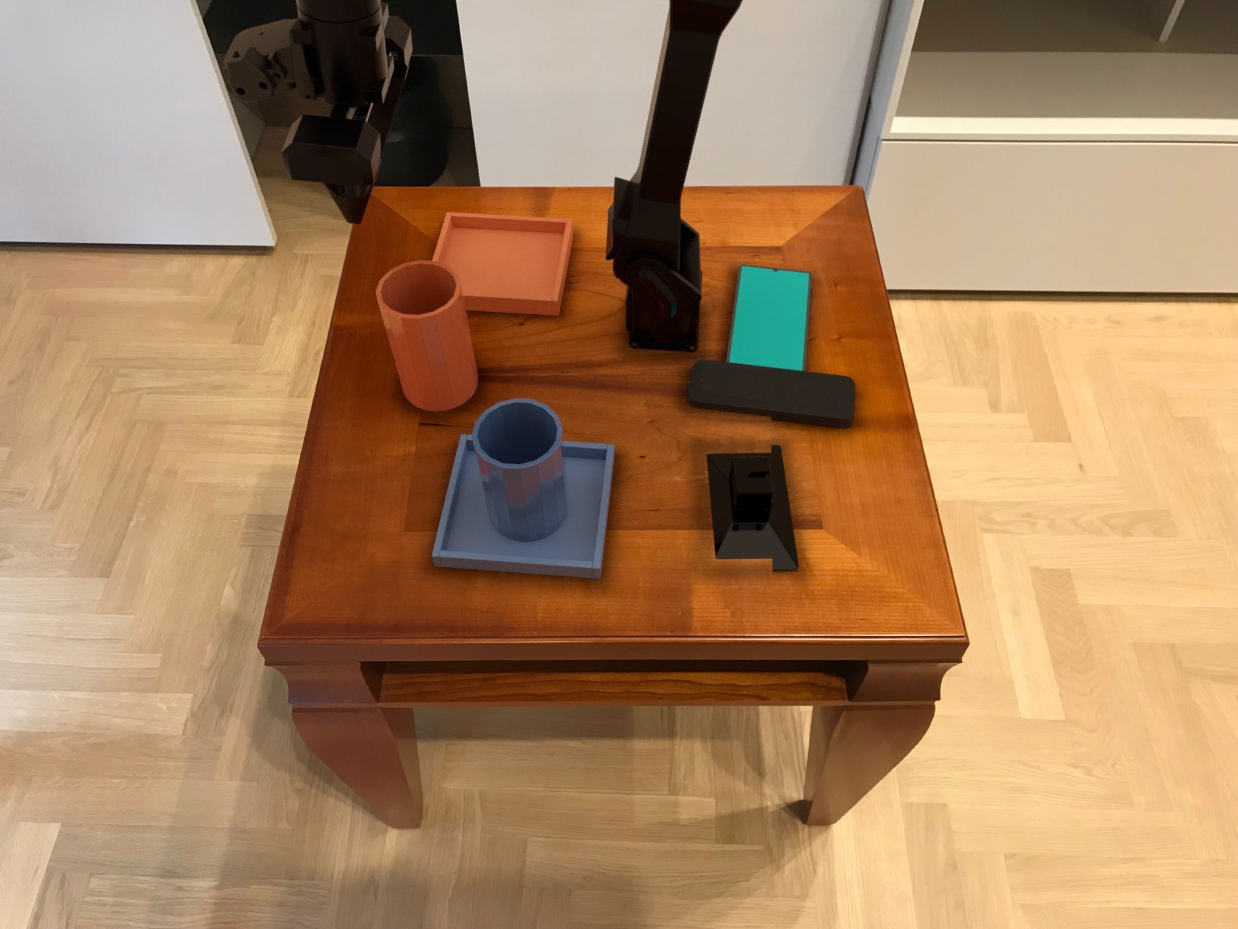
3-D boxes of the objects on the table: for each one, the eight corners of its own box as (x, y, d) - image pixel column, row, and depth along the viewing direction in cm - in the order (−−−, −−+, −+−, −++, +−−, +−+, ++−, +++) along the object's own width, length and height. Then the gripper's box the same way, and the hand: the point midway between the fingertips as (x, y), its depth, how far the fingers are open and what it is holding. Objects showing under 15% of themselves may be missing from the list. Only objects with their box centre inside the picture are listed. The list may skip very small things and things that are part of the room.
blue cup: (572, 478, 80) (567, 401, 72) (563, 544, 76) (555, 471, 68) (495, 472, 80) (481, 395, 72) (481, 538, 76) (465, 464, 68)
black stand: (798, 572, 75) (807, 541, 71) (706, 573, 75) (710, 543, 71) (780, 447, 82) (787, 413, 78) (696, 448, 82) (699, 414, 78)
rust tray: (573, 234, 99) (572, 218, 98) (558, 316, 92) (557, 300, 90) (449, 227, 100) (446, 211, 98) (425, 307, 93) (421, 292, 91)
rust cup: (484, 361, 88) (467, 262, 79) (471, 417, 84) (451, 320, 75) (412, 356, 89) (387, 257, 79) (396, 412, 85) (367, 315, 75)
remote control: (853, 388, 86) (690, 365, 87) (858, 376, 85) (692, 353, 86) (852, 432, 84) (684, 408, 85) (856, 421, 82) (686, 397, 83)
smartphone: (724, 373, 86) (739, 263, 95) (723, 379, 87) (738, 270, 95) (805, 383, 85) (813, 271, 94) (804, 389, 86) (811, 278, 95)
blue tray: (614, 458, 82) (614, 444, 80) (600, 581, 74) (600, 568, 73) (463, 447, 82) (460, 433, 81) (435, 569, 75) (431, 555, 73)
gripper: (255, -74, 71) (292, 111, 83) (180, 62, 60) (236, 252, 72) (405, -57, 72) (419, 124, 84) (357, 81, 61) (382, 266, 73)
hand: (365, 186), depth 78 cm, fingers open, 9 cm apart
